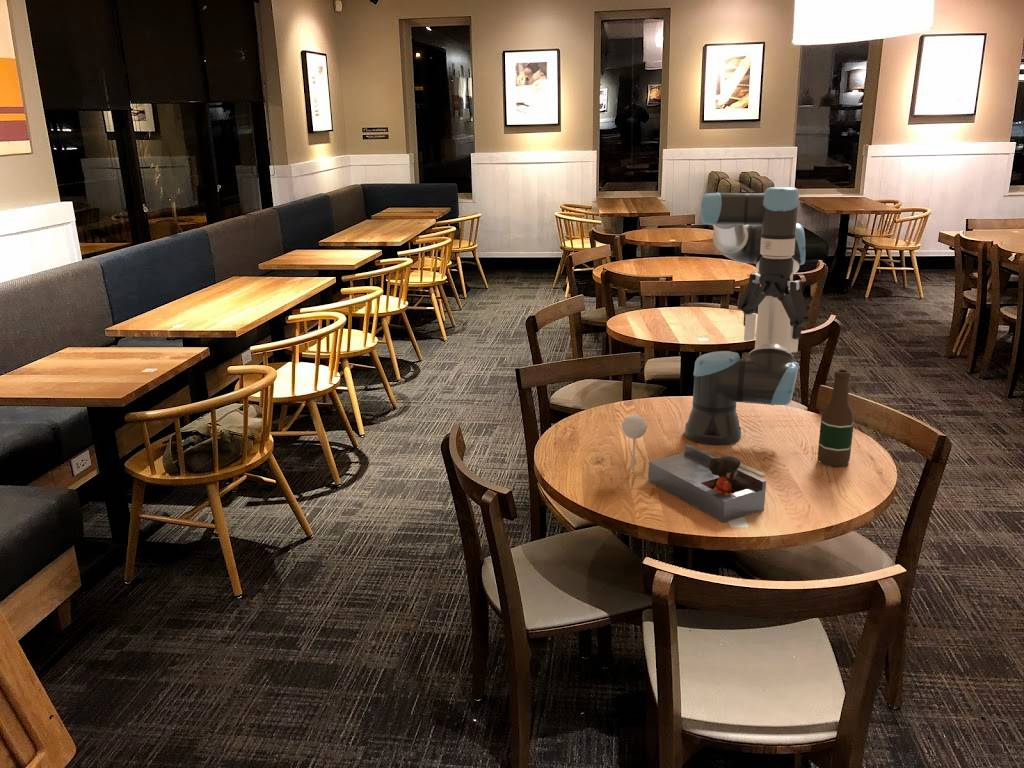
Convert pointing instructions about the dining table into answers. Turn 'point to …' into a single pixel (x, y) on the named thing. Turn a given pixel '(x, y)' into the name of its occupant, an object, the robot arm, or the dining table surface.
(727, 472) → the figurine
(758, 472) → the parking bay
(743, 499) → the grey box with compartment
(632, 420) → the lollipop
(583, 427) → the dining table surface
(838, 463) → the beer bottle
